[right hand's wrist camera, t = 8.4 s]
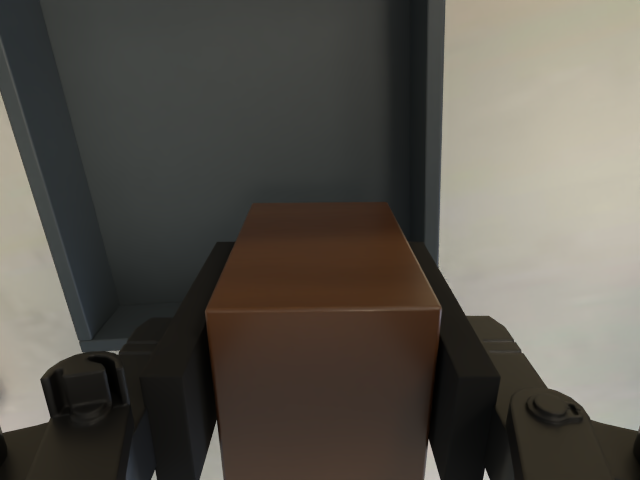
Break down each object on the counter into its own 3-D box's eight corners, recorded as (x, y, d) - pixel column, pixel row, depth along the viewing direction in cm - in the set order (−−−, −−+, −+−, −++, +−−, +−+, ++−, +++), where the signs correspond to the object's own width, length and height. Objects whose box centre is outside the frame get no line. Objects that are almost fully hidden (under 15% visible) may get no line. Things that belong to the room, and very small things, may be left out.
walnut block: (251, 202, 15) (203, 309, 8) (387, 201, 15) (443, 307, 9) (259, 320, 17) (223, 486, 10) (381, 319, 17) (425, 483, 10)
